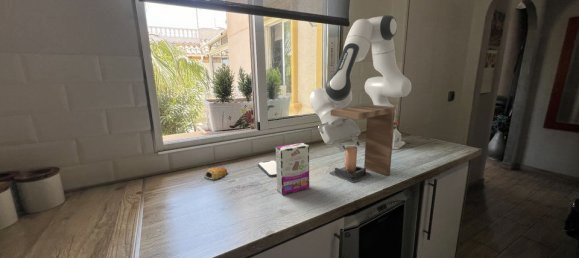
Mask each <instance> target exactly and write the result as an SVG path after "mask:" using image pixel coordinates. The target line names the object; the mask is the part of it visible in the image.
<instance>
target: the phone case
mask: <svg viewBox="0 0 579 258" xmlns="http://www.w3.org/2000/svg"><path fill="white" fill-rule="evenodd" d="M257 167H259V169H260V170H261V171H262V172H264V174H265V175H267V177H269V178H277V171H276V160H268V161H261V162H258V163H257Z"/></svg>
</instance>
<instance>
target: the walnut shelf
mask: <svg viewBox="0 0 579 258" xmlns="http://www.w3.org/2000/svg"><path fill="white" fill-rule="evenodd" d="M395 109H396V106H394V107H388V106H378V105H374V104H363V105H355V106H349V107H348V106H347V107H345V108H341V109H334V110H331V115H332V116H338V117H345V118H351V120H364V119H366V127H365V128H366V131H365V146H364V163H363V168H365V169H366V171H370V172H373V173H376V174H379V175H383V176H386V177H388V176H390V175H391V168H392V167H391V166H392V154H393V149H392V143H393V131H394V118H395V119H396V113H395Z"/></svg>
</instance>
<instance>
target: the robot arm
mask: <svg viewBox="0 0 579 258" xmlns="http://www.w3.org/2000/svg"><path fill="white" fill-rule="evenodd" d="M397 31H398V23H397V20H396V18H395V17H394V16H393V15H389V14H388V15H383V16H375V17H371V18H359V19H357V20H355V21H354V22H353V23H352V26H351V27H350V29H349V31H348V33H347V35H346V38H345V41H344V45H343V50H342V53H341V55H340V57H339V61H338V62H337V65H336V68H335V70H334V72H333V73H331V75H330V76H329V77H328V79H327V80H326V82H325V85H324V88H321V87H318V88H315V89H314V90H313V91H312V92H311V93H310V94H309V98H308V101H309V103H310V107H311V108H312V109H313V111H314V113H315V114H316V115H317V116H318V117H319V120H320V122H321V123H319V124H318V126H317V129H318V130H319V133H320V135H321V138H322V140H323V142H324V144H326V145H328V146H330V145H332V144H333V145H334V146H335V147H337V148H338V149H339V151H340V152H342V153H343V152H346V146H345V145H343V144H342V143H340V142H344V141H347V140H352V141H353V146H355V147H357V148H359V147H360V146H361V143H360V142H359V137H358V136H359V135H361V129H360V127H359V126H358V124H357V123H356V121H354V119H351V118H345V117H338V116H332V115H331V110H334V109H341V108H348V106H350V105H351V103H352V102H353V93H352V85H351V84H352V83H351V75H352V72H353V69H354V67H355V63H357V62H361V61H363V60H365V58H366V56H367V54H368V52H369V50H370V48H371V55H372V57H371V58H372V63H373V68H374V69H375V70H376V71H377V72H379V73H380V74H381V75H382V76H374V77H369V78H367V80H366V81H365V83H364V92H365V93H366V94H367V95H368V96H369V98H370V99H371V100H372V103H373V104H372V105H378V106H388V107H395V106H394V104H391V103H390V100H389V98H395V99H396V98H397V99H398V98H403V97H407V96H408V95H409V94H410V93H411V91H412V83H411V81H410V79H409V78H408V77H407V76H405V75H404V74H403V73H402V72H401V70H400V68H399V67H398V65H397V60H396V50H395V43H394V37H395V36H396V33H397ZM396 112H397V111H396V108H395V114H396ZM398 125H399V122H398V121H396V117H395V118H394V131H393V143H392V150H399V149H401V147H403V146H404V145H406V142H405V141H403V140H402V133H401V132H399V129H397V126H398Z"/></svg>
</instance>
